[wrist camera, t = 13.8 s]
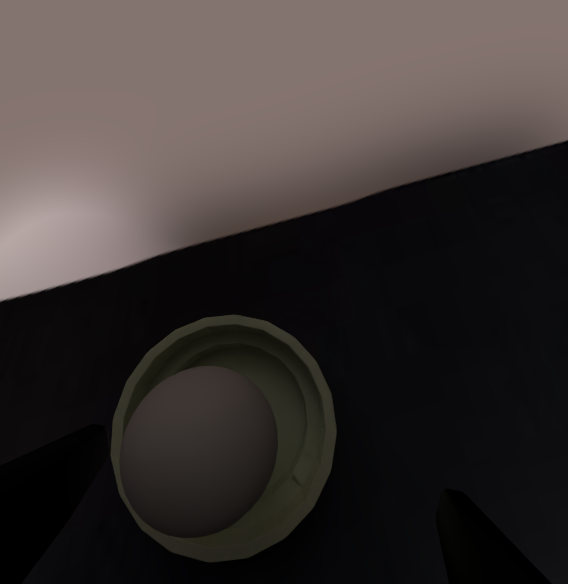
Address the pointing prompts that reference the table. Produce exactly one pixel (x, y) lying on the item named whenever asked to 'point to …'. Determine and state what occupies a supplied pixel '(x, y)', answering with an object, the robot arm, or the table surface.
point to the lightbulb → (198, 452)
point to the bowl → (288, 415)
